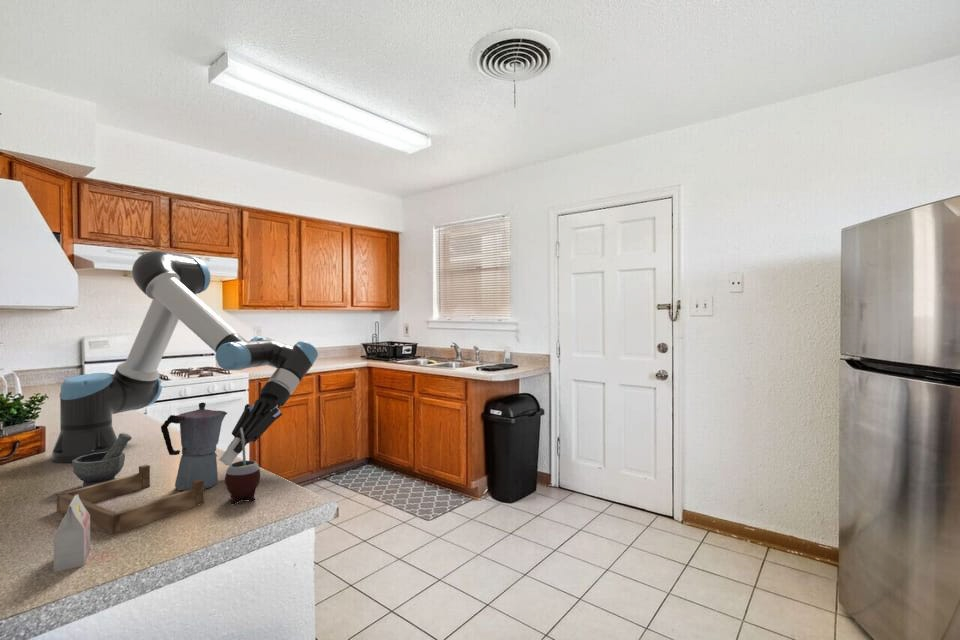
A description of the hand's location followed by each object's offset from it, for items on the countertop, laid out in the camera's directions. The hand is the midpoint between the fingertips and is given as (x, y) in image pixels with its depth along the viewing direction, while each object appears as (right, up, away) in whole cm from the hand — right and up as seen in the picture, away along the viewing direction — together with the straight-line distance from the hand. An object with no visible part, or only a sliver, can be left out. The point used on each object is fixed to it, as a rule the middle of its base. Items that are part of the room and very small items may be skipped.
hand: (224, 462), depth 119 cm
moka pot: (-4, -4, -6) cm, 8 cm away
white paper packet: (-4, -4, -40) cm, 41 cm away
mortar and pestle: (-27, -4, -5) cm, 27 cm away
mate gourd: (+11, -4, -14) cm, 18 cm away
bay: (-10, -4, -18) cm, 21 cm away
